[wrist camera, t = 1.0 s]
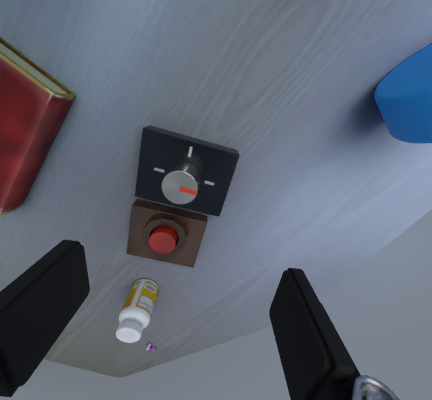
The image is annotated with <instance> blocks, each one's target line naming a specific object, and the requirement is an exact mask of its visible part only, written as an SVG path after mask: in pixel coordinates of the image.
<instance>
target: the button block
mask: <svg viewBox="0 0 432 400" xmlns="http://www.w3.org/2000/svg"><path fill="white" fill-rule="evenodd" d="M206 224H207V216H206V215H201V214H197V213H193V212H189V211H185V210H181V209H176V208H172V207H168V206H164V205H160V204H156V203H151V202H147V201H143V200H139V199H137V200H136V201H135V202H134V204H133V205H132V213H131V221H130V230H129V239H128V248H127V254H130V255H135V256H140V257H145V258H150V259H154V260H159V261H164V262H169V263H174V264H179V265H183V266H188V267H194V264H195V260H196V257H197V254H198V250H199V247H200V244H201V241H202V237H203V234H204V231H205V227H206ZM160 226H166V227H170V228H172V229H173V230H174V231H175V232H176V234H177V242H176V245H175V248H174V249H173V250H172V251H171V252H169V253H166V254H161V253H158V252H155V251H154V250H153V249H152V248H151V247H150V245H149V239H150V237H151V235H152V233H153V231H154V230H155V229H156V228H158V227H160Z"/></svg>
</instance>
